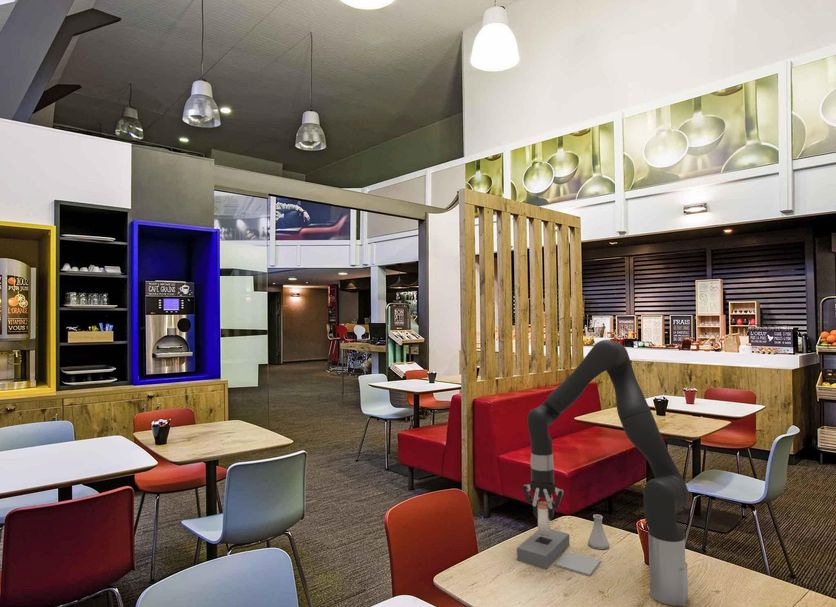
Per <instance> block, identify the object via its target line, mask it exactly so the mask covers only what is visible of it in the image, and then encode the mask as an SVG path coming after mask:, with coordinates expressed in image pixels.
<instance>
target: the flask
mask: <svg viewBox="0 0 836 607" xmlns="http://www.w3.org/2000/svg"><path fill="white" fill-rule="evenodd" d="M592 517H593V526H592V529H591V532H590V535H589V538H588V540H587V545H588V546H589V547H591V548H592V549H596V550H606V549H610V543H609V541H608V538H607V535H606V532H605V529H604V526H603V517H604V516H602V515H601V514H593V516H592Z"/></svg>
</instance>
